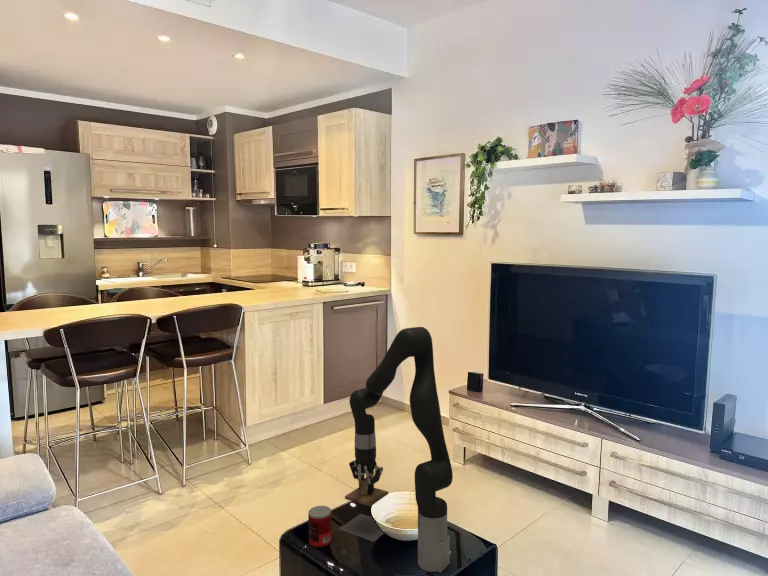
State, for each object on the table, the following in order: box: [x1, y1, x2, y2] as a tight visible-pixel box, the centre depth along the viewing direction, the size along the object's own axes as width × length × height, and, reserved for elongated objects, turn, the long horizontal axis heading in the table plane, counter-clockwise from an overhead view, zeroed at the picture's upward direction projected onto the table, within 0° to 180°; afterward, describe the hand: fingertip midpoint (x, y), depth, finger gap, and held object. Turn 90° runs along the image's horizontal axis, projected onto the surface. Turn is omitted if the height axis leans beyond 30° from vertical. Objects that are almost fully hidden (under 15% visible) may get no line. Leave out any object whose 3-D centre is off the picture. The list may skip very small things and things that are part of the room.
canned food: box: [307, 505, 333, 548], centre depth 182 cm, size 8×8×11 cm
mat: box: [339, 513, 385, 543], centre depth 191 cm, size 15×13×1 cm
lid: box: [344, 477, 389, 507], centre depth 189 cm, size 11×11×6 cm
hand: (366, 492), depth 190 cm, fingers closed on lid, 3 cm apart
